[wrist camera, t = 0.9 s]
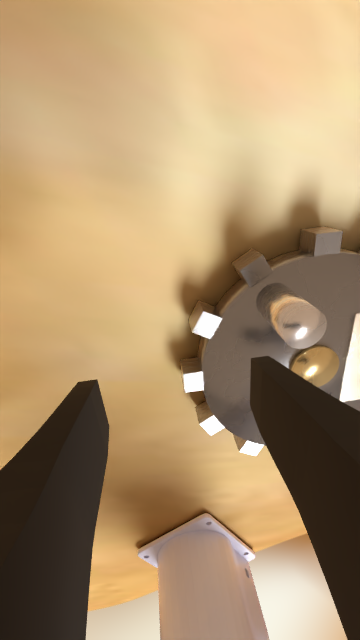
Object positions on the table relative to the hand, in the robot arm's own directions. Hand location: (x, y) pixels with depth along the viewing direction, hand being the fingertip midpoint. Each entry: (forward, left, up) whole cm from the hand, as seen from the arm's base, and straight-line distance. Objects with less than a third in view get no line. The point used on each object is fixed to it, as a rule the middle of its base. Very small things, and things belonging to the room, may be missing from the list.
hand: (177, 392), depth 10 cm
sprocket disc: (-8, -5, -8) cm, 13 cm away
